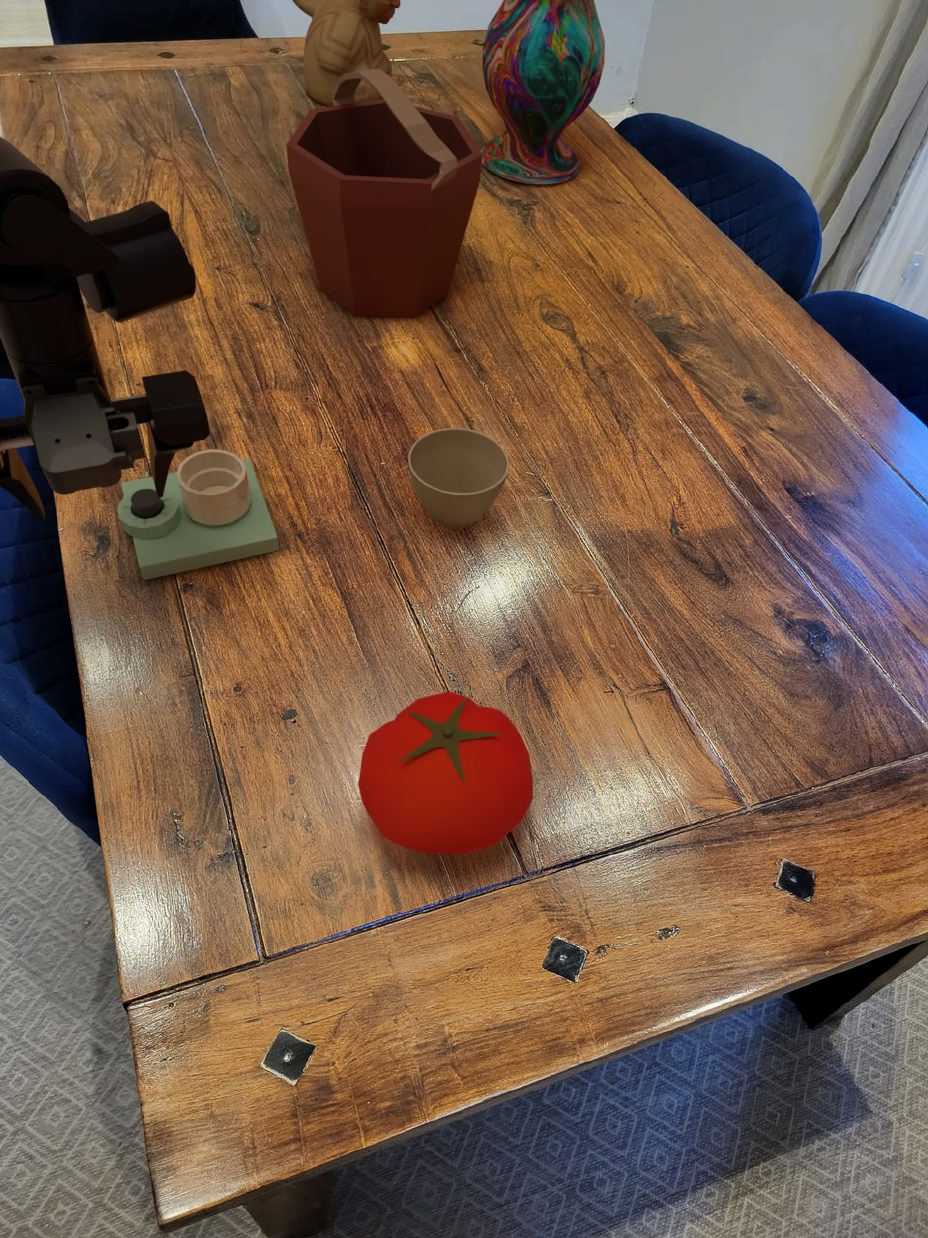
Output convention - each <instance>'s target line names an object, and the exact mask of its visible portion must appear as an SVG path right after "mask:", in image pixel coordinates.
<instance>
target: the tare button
mask: <svg viewBox="0 0 928 1238" xmlns="http://www.w3.org/2000/svg"><path fill="white" fill-rule="evenodd" d="M131 503H132V506H133V510H134V513H135V515H136V516H137V517H139V518H142V519H149V518H154V517H156V516H158V515H159V514H160V513H161V511H162V504H161V500H160V498H158V497H157V493H156V491H155V490H152V489H141V490H138V491H136V492H135V493H134V494H133V495H132V497H131Z"/></svg>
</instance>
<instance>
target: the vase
mask: <svg viewBox="0 0 928 1238" xmlns="http://www.w3.org/2000/svg"><path fill="white" fill-rule="evenodd" d="M605 50H606V40H605V35H604V32H603V29H602V26H601V22H600V19H599V15H598V11H597V7H596V2H595V0H502V2H501V4H500V5H499V7H498V9H497V10H496V11H495V14H494V15H493V17H492V18H491V20H490V22H489V23H488V26H487V30H486V35H485V38H484V42H483V47H482V74H483V80H484V87H485V90H486V92H487V94H488V97H489V99H490V102H491V104H492V106H493V107H494V109H495V110H496V112H497V113H498V114H499V116H500V118H501V119H502V121H503V123H504V127H505V129H506V130H505V131H504V132H503V133H502V134H501V135H499V136H497V137H495V138H493V139H491V140H490V141H488V142H487V143H486V144H485V145H484V146H483V147H482V148H481V150H480V151H481V153H482V165H483V166H484V167H485V168H486V169H487V170H488V171H490V172H491V173H493V174H495V175H497V176H498V177H502V178H504V179H507V180H510V181H514V182H518V183H522V184H523V183H524V184H531V185H551V184H558V183H562V182H566V181H568V180H570V179H572V178H574V177H575V176H576V175H578V174H579V172H580V170H581V167H582V166H581V165H582V164H581V161H580V159H579V158H578V156H577V154H576V153H575V151H574V150H573V149H572V148H571V147H570V146H568V145H567V144H566V143H565V142H564V140H563V138H562V135H563V133H564V132H565V131H566V130H567V128H568V127H570V125H571V124H573V123H574V122H575V121H576V120H578V119H579V118H580V117H581V116H582V114H584V112H585V111H586V109H587V108H588V107H589V106H590V104H591V103H592V102H593V100H594V97H595V96H596V93H597V90H598V89H599V86H600V83H601V78H602V75H603V71H604V69H605V68H604V67H605V56H606V55H605V54H606V51H605Z"/></svg>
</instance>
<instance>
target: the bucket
mask: <svg viewBox="0 0 928 1238" xmlns="http://www.w3.org/2000/svg"><path fill="white" fill-rule="evenodd" d="M361 80H363V81H364V82H366V83H367V84H369V85H370V86H371V87H372V88H373V89H374V90H375V91H376V92H377V93H378V94H379V95H380V98H379V99H378V100H372V101H365V102H358V103H356V101H355V98H354V94H355V91H356V89H357V87H358V85H359V84H360V82H361ZM332 101H333V103H334V106H325V107H317V108H310V109H309V111H308V112H307V114H306V115H305V117H304V118H303V119H302V121H301V123H300V124H299V126H297V128H296V129H295V131H294V132H293V134H292V136H291V137H290V138H289V139H288V141H287V143H286V156H287V168H288V169H287V170H288V174H289V178H290V181H291V185H292V189H293V192H294V196H295V200H296V203H297V207H298V210H299V214H300V218H301V223H302V226H303V230H304V232H305V237H306V240H307V243H308V244H307V245H308V247H309V251H310V254H311V258H312V262H313V265H314V269H315V273H316V277H317V281H318V284H319V288H320V291H322V292H323V293H324V294H325V295H327V296H329V297H330V298H331V299H332V300H333V301H335V302H336V303H337V304H339V305H340V306H342V307H343V308H345V309H346V310H348V312H350V313H351V314H352V315H353V316H355V317H367V318H368V317H371V318H399V319H400V318H401V319H403V318H404V319H415V318H416V317H417V316H419V315H421V314H422V313H423V312H425V311H426V310H428V309H429V308H430V307H432V306H433V305H435V304H436V303H438V302H439V301H441V300H442V299H443V298H445V297H446V296H448V294H449V292H450V287H451V284H452V280H453V278H454V273H455V270H456V266H457V263H458V260H459V256H460V253H461V249H462V246H463V242H464V239H465V235H466V231H467V228H468V225H469V222H470V217H471V214H472V211H473V207H474V203H475V200H476V196H477V193H478V189H479V186H480V184H481V183H480V182H481V177H482V176H481V175H482V165H483V164H482V153H481V150H480V148H479V147H478V145H477V143H476V142H475V140H474V139H473V137H472V136H471V134H470V132H469V131H468V129H467V128H466V126H465V124H464V123H463V122H462V120H461V119H460V117H459V116H455V115H451V114H447V113H444V112H439V111H435V110H431V109H428V108H424V107H420V106H416V105H414V103H413V102H412V101H411V99H410V98H409V96H408V95H407V94H406V93H405V91H404V90H403V89H402V87H401V86H400V85H399V84H398V83H397V82H396V81H395V80H394V79H393V78H392V76H391V77H390V76H389V75H388V74H386V73H385V72H383V71H382V70H380V69H372V70H365V71H358V72H351V73H346V74H344V75H342V76H340V77H338V79H337V82H336V84H335V86H334V89H333V92H332Z"/></svg>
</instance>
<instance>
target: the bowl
mask: <svg viewBox="0 0 928 1238" xmlns="http://www.w3.org/2000/svg"><path fill="white" fill-rule="evenodd" d="M176 472H177V473H176V476H177V480H178V485H179V489H180V493H181V497H182V501H183V505H184V509H185V512H186V513H187V514H188V515H189V516H190V517H191V518H192V519H193V520H194V521H197V522H200V523H202V524H205V525H214V526H217V525H225V524H228V523H231V522H233V521H235V520H237V519H238V518H240V517H241V516H243V515H244V514H245V512H246V511H247V510H248V509H249V506H250V502H251V496H250V490H249V483H248V477H247V470H246V467H245V464H244V461H243V459H242V458H241V457H239V455H237V454H236V453H234V452H232V451H231V452H230V451H228V450H225V449H214V448H211V449H205V450H200V451H196V452H195V453H193V454H190V455H188V456H187V457H185V458H184V459H183V460H182V461H181V462H180V463H179V465H178V467H177V469H176Z"/></svg>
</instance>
